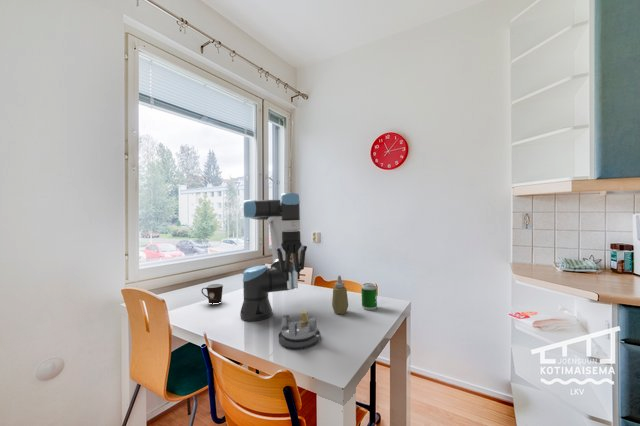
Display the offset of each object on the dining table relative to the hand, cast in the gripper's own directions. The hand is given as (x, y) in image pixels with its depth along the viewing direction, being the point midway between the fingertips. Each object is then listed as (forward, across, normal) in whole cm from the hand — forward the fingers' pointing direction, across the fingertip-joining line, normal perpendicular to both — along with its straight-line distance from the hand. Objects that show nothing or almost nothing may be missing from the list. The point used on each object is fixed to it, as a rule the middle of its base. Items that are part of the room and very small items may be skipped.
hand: (292, 287), depth 107 cm
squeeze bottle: (+19, +28, +9) cm, 35 cm away
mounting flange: (+18, 0, -6) cm, 19 cm away
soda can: (+19, +44, +6) cm, 48 cm away
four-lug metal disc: (+16, 0, -6) cm, 17 cm away
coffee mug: (+19, -26, +59) cm, 67 cm away
